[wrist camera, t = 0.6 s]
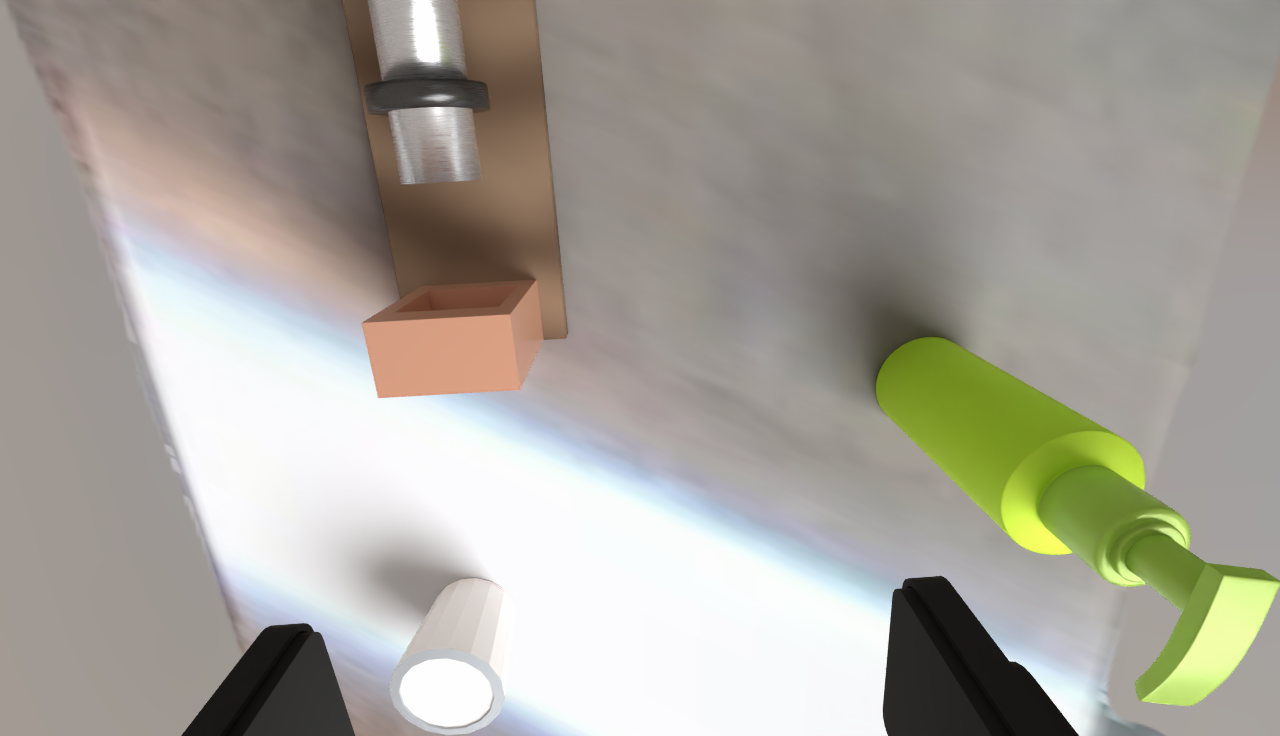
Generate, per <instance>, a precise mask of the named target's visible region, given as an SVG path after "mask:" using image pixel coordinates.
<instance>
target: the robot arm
mask: <svg viewBox="0 0 1280 736" xmlns="http://www.w3.org/2000/svg"><path fill="white" fill-rule="evenodd" d="M883 719H884V724H885V728H886V731H887V734H888V736H1079V735H1078V734H1077V733H1076V731H1075V730H1074V729H1073V727H1072V726H1071V725H1070V724H1069V722H1068V721H1067V720H1066V718H1065V717H1064V716H1063V715H1062V713H1061V712H1060V711H1059V709H1058V708H1057V707H1056V706H1055V704H1054V703H1053V702H1052V700H1051V699H1050V698H1049V697H1048V695H1047V694H1046V693H1045V691H1044V690H1043V689H1042V688H1041V686H1040V685H1039V684H1038V682H1037V681H1036V680H1035V679H1034V677H1033V676H1032V675H1031V674H1030V673H1029V672H1028V671H1027V670H1026V669H1025V668H1024V667H1023V666H1022V665H1020V664H1018V663H1017V662H1009V660H1008V659H1007V658H1006V656H1005V655H1004V654H1003V652H1002V651H1001V650H1000V648H999V647H998V646H997V644H996V643H995V642H994V640H993V639H992V638H991V636H990V635H989V634H988V632H987V631H986V630H985V629H984V627H983V626H982V625H981V623H980V622H979V621H978V619H977V618H976V617H975V615H974V614H973V613H972V611H971V610H970V609H969V607H968V606H967V605H966V603H965V602H964V601H963V599H962V598H961V597H960V595H959V594H958V593H957V591H956V590H955V589H954V587H953V586H952V585H951V583H950V582H949V581H948V580H947V579H946V578H944V577H942V576H936V577H922V578H909V579H905V581H904V582H903V586H902V589H895V590H894V592H893V597H892V609H891V621H890V632H889V644H888V655H887V667H886V678H885V690H884V702H883ZM182 736H355V734H354V731H353V728H352V725H351V722H350V719H349V716H348V713H347V709H346V706H345V703H344V700H343V697H342V694H341V691H340V688H339V685H338V682H337V679H336V676H335V673H334V670H333V667H332V664H331V661H330V658H329V655H328V652H327V649H326V646H325V643H324V640H323V637H322V635H321V634H320V633H319V632H314V631H313V629H312V627H311V626H310V625H309V624H305V623H302V624H288V625H275V626H269V627H267V628H265V629H264V630H263V631H262V632H261V633H260V635H259V636H258V637H257V638H256V640H255V641H254V642H253V644H252V645H251V646H250V648H249V649H248V650H247V651H246V653H245V654H244V655H243V657H242V658H241V659H240V661H239V662H238V663H237V664H236V666H235V667H234V668H233V670H232V671H231V672H230V673H229V675H228V676H227V677H226V679H225V680H224V681H223V682H222V684H221V685H220V686H219V688H218V689H217V690H216V692H215V693H214V694H213V696H212V697H211V698H210V699H209V701H208V702H207V703H206V705H205V706H204V707H203V709H202V710H201V711H200V712H199V714H198V715H197V716H196V718H195V719H194V720H193V721H192V723H191V724H190V725H189V726H188V728H187V729H186V731H185V732H184V733H183V734H182Z"/></svg>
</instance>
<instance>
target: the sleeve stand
mask: <svg viewBox="0 0 1280 736" xmlns="http://www.w3.org/2000/svg"><path fill="white" fill-rule="evenodd" d="M342 1H343V6H344V11H345V16H346V22H347V27H348V32H349V37H350V42H351V47H352V52H353V58H354V63H355V68H356V73H357V78H358V83H359V88H360V93H361V99H362V104H363V109H364V114H365V119H366V124H367V129H368V135H369V140H370V145H371V150H372V155H373V160H374V165H375V170H376V176H377V181H378V186H379V191H380V196H381V201H382V206H383V212H384V217H385V222H386V227H387V232H388V237H389V242H390V247H391V253H392V258H393V263H394V268H395V273H396V278H397V283H398V289H399V294H400V299H402V298H403V297H405V296H406V295H408V294H410V293H411V292H413V291H415V290H416V289H418V288H419V287H421V286H433V285H450V284H467V283H484V282H502V281H519V280H536V279H537V287H538V296H539V304H540V313H541V322H542V331H543V339H544V340H548V339H565V338H566V337H567V334H568V327H567V316H566V306H565V296H564V286H563V276H562V266H561V256H560V246H559V236H558V226H557V216H556V206H555V196H554V186H553V176H552V166H551V156H550V146H549V135H548V125H547V115H546V105H545V95H544V85H543V75H542V65H541V55H540V45H539V35H538V25H537V15H536V5H535V0H457V1H458V9H459V16H460V23H461V30H462V38H463V45H464V52H465V59H466V67H467V74H468V80H475V81H481V82H484V83H486V84H487V86H488V94H489V102H490V110H488V111H484V112H479V113H473V117H474V125H475V132H476V139H477V146H478V154H479V161H480V168H481V175H482V179H480V180H469V181H456V182H441V183H424V184H401V182H400V176H399V171H398V165H397V160H396V154H395V149H394V143H393V138H392V132H391V127H390V121H389V116H380V115H372V114H369V113H368V110H367V105H366V100H365V95H364V90H363V86H365V85H367V84H370V83H375V82H381V81H382V78H381V72H380V67H379V61H378V56H377V50H376V45H375V39H374V34H373V28H372V23H371V17H370V12H369V6H368V1H367V0H342Z"/></svg>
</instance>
